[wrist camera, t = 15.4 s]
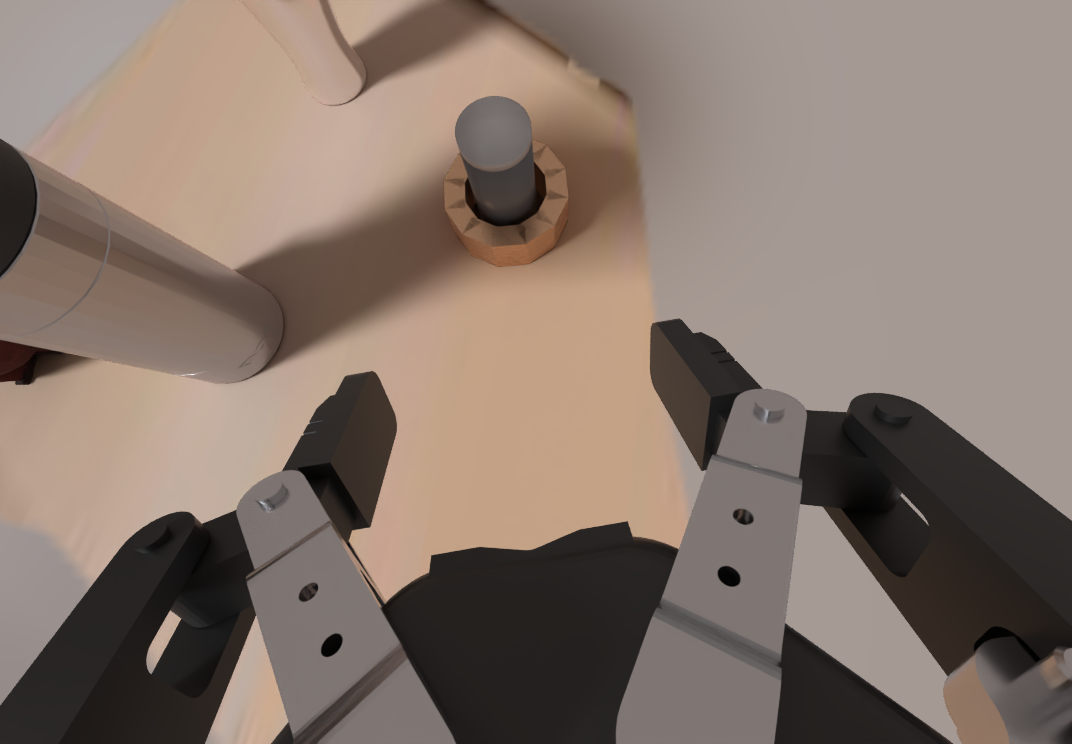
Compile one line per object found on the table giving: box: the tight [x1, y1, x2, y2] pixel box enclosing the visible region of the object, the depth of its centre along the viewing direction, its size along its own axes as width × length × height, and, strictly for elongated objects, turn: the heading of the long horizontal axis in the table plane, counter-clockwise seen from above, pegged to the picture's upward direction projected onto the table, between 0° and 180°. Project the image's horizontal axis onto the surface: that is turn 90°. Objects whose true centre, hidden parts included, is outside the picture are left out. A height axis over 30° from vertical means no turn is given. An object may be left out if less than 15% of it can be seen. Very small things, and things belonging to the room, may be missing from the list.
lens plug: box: [455, 96, 537, 227], centre depth 32 cm, size 5×5×10 cm
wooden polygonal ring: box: [444, 139, 569, 267], centre depth 35 cm, size 10×10×4 cm
